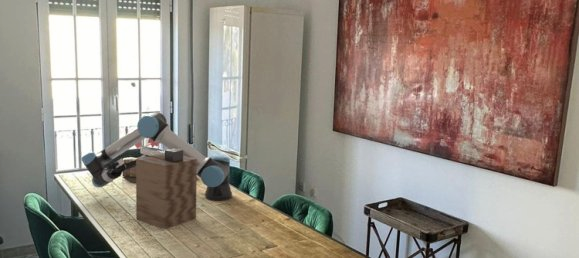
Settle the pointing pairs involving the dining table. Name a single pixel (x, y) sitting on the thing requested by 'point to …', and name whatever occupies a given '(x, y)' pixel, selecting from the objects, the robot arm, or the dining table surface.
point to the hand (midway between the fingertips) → (134, 158)
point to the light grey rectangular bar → (164, 154)
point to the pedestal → (165, 191)
